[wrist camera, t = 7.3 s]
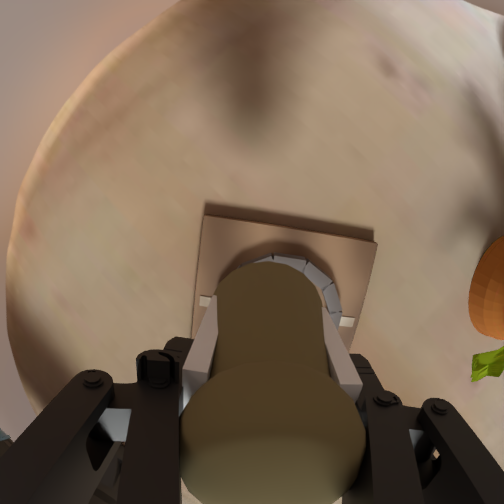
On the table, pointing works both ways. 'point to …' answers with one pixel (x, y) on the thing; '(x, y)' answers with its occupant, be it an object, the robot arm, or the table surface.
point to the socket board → (293, 254)
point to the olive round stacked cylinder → (270, 400)
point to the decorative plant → (488, 309)
